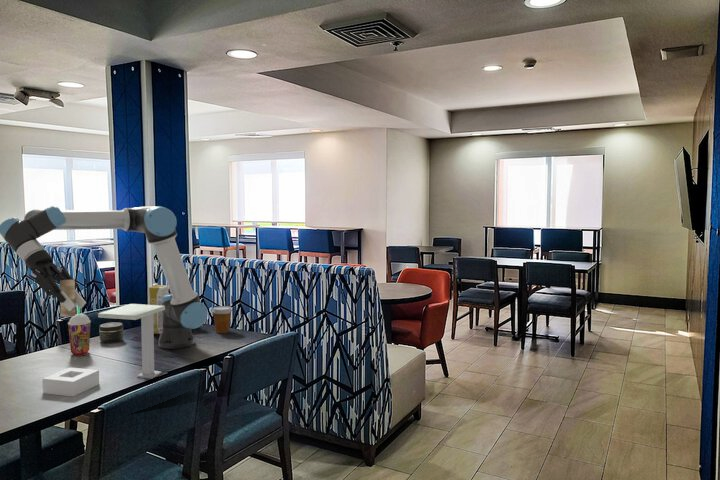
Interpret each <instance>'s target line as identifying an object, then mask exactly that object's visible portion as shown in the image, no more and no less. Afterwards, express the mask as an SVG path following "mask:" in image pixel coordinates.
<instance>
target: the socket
mask: <svg viewBox="0 0 720 480" xmlns="http://www.w3.org/2000/svg"><path fill="white" fill-rule="evenodd" d="M98 385H100V369H89V368H80V367H79V368H78V367H67V368H65V369H62V370H60V371H57V372H55V373H53V374H50V375H48V376H46V377H43V378H42V394H48V395H58V396H65V397H66V396H67V397H75V396H78V395H79V394H82V393H84V392H86V391H88V390H89V389H92V388H94V387H96V386H98Z"/></svg>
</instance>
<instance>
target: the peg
mask: <svg viewBox="0 0 720 480" xmlns="http://www.w3.org/2000/svg"><path fill="white" fill-rule="evenodd" d="M75 282H76V279H74V280H61V281H60V284H59V289H60V293H61V292H62V291H64V293H65V294H66V295H67V296H68V297H69V298H70V300H71V301H72V302H73V303H74V304H75V305H76V303H75ZM59 302H60V301H59ZM59 304H60V317H62V318H68V317H69V318H70V317H72V316H75V315H76V314H77V313H76V306H75V307H74V308H73V309H72V310H71V311H68V309H67V308H66V307H65V306H64V305H63V304H62V303H61V302H60V303H59Z"/></svg>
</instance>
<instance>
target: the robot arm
mask: <svg viewBox="0 0 720 480" xmlns="http://www.w3.org/2000/svg"><path fill="white" fill-rule="evenodd" d="M176 228H177V217H176V215H175V214H174V212H173V211H172V210H170V209H169V208H167V207H164V206H161V205H157V206H156V205H155V206H154V205H153V206H152V205H145V206H139V207H124V208H123V209H120V210H109V209H108V210H99V209H97V210H94V209H93V210H91V209H90V210H89V209H88V210H87V209H86V210H85V209H83V210H82V209H81V210H80V209H73V210H72V209H71V210H68V209H67V210H66V209H60V208H59V207H58V206H57V205H52V206H49V207H47V208H45V209H32V210H29V211H28V212H26V213H25V214H24V217H23V220H21V219H20V218H17V217H12V218H8V219H6V220H3V221H2V222H1V223H0V236H1V237H2V238H3V239H4V241H5V242H6V243H7V244H8V245H9V246H10V248H11V249H12V250H13V251H14V252H15V253H16V254H17V255H18V257H19V258H20V259H21V260H22V261H23V263H24V264H25V266H26V267H27V268H28V269H29V270H30V271H31V272H30V274H28V275H29V277H30V278H31V279H33V280H34V281H35V282H36V283H37V285H38V286H39V288H41V289H42V290H43V292H44V293H45V294H46V295H47V296H48V297H51V298H52V299H55V298H56V299H57V300H58V301H59V302H61V303H62V304H63V305H64V306H65V307H66V308H67V309H68V311H71V310H72V309H73V308H74V307H75V308H76V305H77V306H78V307H80V309H82V308H83V307H84V306H85V305H86V304H87V301H86V300H85V299H84V298H83V297H82V294H80V293H79V291H78V290H77V289H78V288H79V287H80V286H79V284H78V282H76V281H75V304H74V303H73V302H72V301H71V300H70V298H69V297H68V296H67V295H66V294H65V293H64V291H62V292H61V293H60V286H58V284H59V285H60V281H61V280H75V279H74V278H73V277H72V276H71V275H70V273H69V272H68V271H67V269H66V266H65V265H61V266H57V265H56V264H55V263H54V262H53V257H52V256H51V255H50V253H49V252H48V251H47V250H46V249H45V247H44V246H43V245H42V244H41V243H40V241H39V240H38V239H39V238H41V237H42V236H45V235H47V234H48V233H50V232H52V231H55V230H57V231H58V230H62V231H63V230H64V231H65V230H70V231H71V230H72V231H73V230H123V231H124V232H136V233H142V234H144V235H145V237H146V240H147V242H148V244H150V245H152V246H153V247H154V250H155V253H156V255H157V258H158V262H159V264H160V266H161V270H162V272H163V276H164V278H165V280H166V283H167V286H168V290H169V292H170V294H169V295H165V296H163V298H162V306H165V310H163V311H162V326H163V327H162V332H161V334H159V338H158V347H159V348H161V349H167V350H170V349H171V350H173V349H174V350H176V349H183V348H188V347H191V346H193V345H194V343H195V337H194V335H193V332H192V330H194V329H197V328H198V329H199V328H200V327H201V326H203V324H204V323H206V320H207V318H208V315H209V311H208V308H207V306H206V305H205V303H203V302H201V299H200V296H199V294H198V292H196V291H194V290H193V287H192V285H191V281H190V279H189V276H188V273H187V270H186V267H185V265H184V262H183V259H182V256H181V252H180V251H179V248H178V245H177V241H176V237H177V236H178V232H177V230H176ZM57 283H58V284H57Z"/></svg>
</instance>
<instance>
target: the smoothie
mask: <svg viewBox="0 0 720 480" xmlns="http://www.w3.org/2000/svg"><path fill="white" fill-rule="evenodd" d="M91 322H92V320H90V318H89V316H88V315H86V314H84V313H81V308H80V307H79V306H78V309H77V313H76V315H75V316H71V318H70V319H69V321H68V322H67V325H68V326H67V327H68V336H69V348H70V353H71V354H72V356H74V357H80V356H86V355H88V354H89V351H90V343H91V340H90V339H91V338H90V337H91Z"/></svg>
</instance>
